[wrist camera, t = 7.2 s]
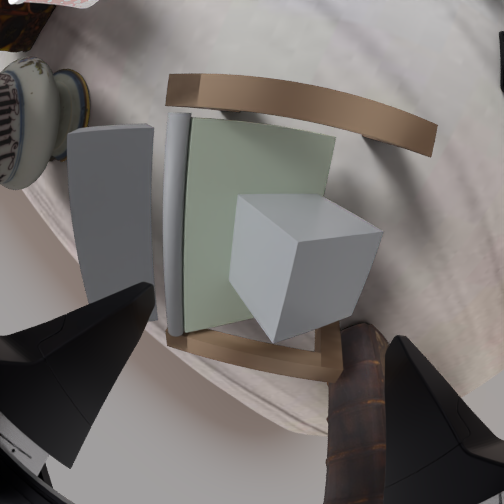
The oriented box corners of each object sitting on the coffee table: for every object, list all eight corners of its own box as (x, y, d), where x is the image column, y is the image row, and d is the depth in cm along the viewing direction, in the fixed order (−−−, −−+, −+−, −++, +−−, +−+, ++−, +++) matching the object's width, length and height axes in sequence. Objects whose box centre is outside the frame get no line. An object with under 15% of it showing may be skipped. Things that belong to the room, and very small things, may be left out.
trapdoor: (287, 123, 17) (336, 134, 14) (261, 273, 23) (293, 309, 19) (80, 116, 11) (63, 119, 7) (97, 297, 17) (99, 348, 13)
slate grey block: (317, 193, 15) (383, 231, 11) (300, 267, 17) (351, 315, 14) (237, 194, 13) (298, 241, 9) (228, 280, 15) (273, 343, 11)
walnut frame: (385, 122, 15) (437, 125, 8) (331, 309, 23) (335, 383, 16) (221, 90, 16) (169, 74, 9) (203, 282, 24) (167, 345, 17)
